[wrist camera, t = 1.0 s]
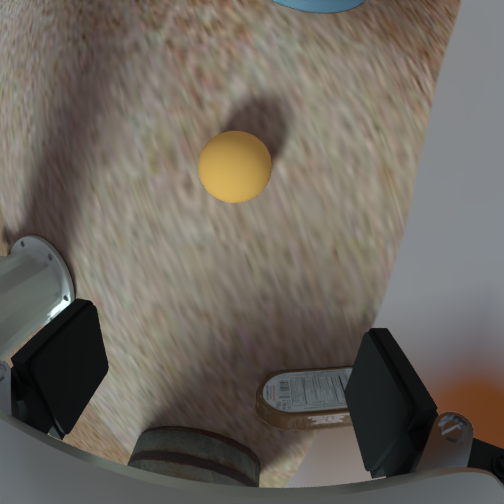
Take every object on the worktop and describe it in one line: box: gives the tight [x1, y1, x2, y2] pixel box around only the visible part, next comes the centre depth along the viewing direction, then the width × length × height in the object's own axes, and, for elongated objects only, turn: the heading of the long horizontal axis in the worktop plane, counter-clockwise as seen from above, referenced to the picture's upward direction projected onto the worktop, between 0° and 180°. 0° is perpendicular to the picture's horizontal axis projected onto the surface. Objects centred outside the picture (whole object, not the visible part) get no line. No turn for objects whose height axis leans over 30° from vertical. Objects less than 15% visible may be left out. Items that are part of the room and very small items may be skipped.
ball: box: [198, 131, 272, 203], centre depth 23 cm, size 6×6×6 cm
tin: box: [255, 367, 353, 431], centre depth 29 cm, size 15×3×8 cm, turn 92°
